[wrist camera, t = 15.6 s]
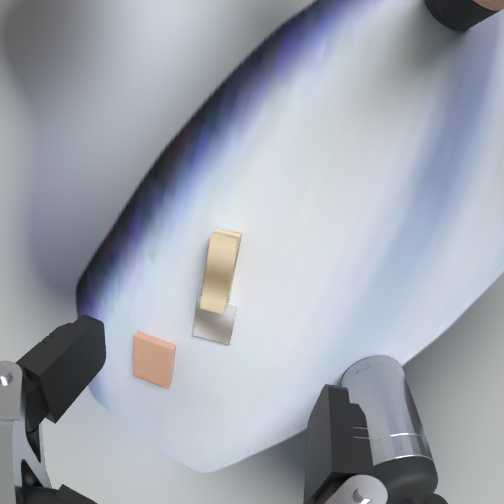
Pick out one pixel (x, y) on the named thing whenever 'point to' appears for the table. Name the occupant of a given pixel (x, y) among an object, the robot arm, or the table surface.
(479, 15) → the travel mug
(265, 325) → the table surface
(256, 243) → the table surface
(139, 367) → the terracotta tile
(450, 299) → the table surface
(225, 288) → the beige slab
